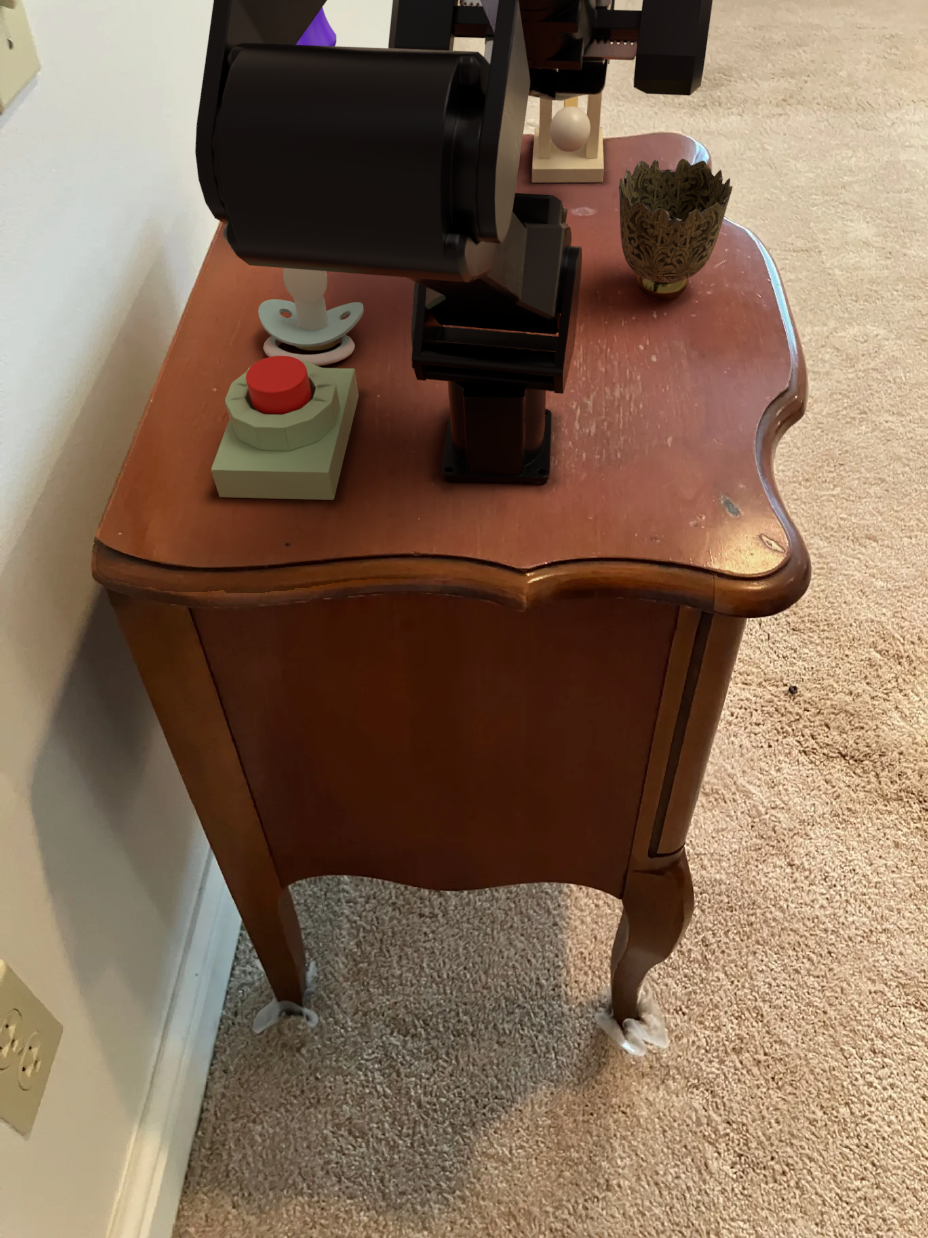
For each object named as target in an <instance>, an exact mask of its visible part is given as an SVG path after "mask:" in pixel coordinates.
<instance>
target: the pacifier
mask: <svg viewBox="0 0 928 1238" xmlns="http://www.w3.org/2000/svg"><path fill="white" fill-rule="evenodd" d="M282 279H283V284H284V286H285V289H286V291H287V292H288V294H289V295H290V296H291V298H293V301H294V302H293V301H290V300H285V299H278V298H277V299H276V298H275V299H274V298H273V299H267V300H265V301H263V302H261V303H260V304H259V307H258V310H257V311H258V312H257V313H258V317H259V321H260V324H261V325H262V328H263V329H264V330H265V331H266V333H268V334H269V337H268V338H267V339H266V340H265V342H264V343H263V351H264V353H265V355H266V356H268V357H272V356H290V357H294V358H297V359H299V360H300V361H307V362H309V363H312V364H314V365H316V366H319V367H321V366H326V365H327V366H328V365H332V364H336V363H338V362H340V361H343V360H345V359H347V358H348V357H350V356H351V355H352V353H353V352H354V350H355V342H354V341H353V339H352V338H351V337H350V336H348V335H347V334H348V333H350V331H351V330H352V329H353V328H354V327H355V326H356V325H357V324H358V323H359V322H360V321H361V318H362V317H363V314H364V305H363V303H362V302H359V301H356V302H355V301H353V302H349V303H344V304H342V305H339V306H338V305H337V306H335V307H333V308H330V309H328V310H327V306H326V302H325V301H326V300H325V293H326V291H327V287H328V274H327V271H316V270H303V269H290V268H282ZM282 313H287V314H289V315H291V316H290V317H285V316H284V315H282ZM344 317H346V318H344ZM343 318H344V319H343ZM282 343H284V344H287V345H290V346H293V347H295V348H297V349H300V350H303V351H324V350H328V349H331V348H333V347H336V345H338V344H340V345H339V346H338V347H336V348H335V349H333V350H330V351H326V352H322V353H315V354H301V353H293V352H290V351H286V350H283V349H282V348H280V347H279V346H280V345H282Z"/></svg>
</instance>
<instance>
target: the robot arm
mask: <svg viewBox="0 0 928 1238" xmlns="http://www.w3.org/2000/svg"><path fill="white" fill-rule="evenodd" d="M327 1H328V0H213V1H212V2H213V3H212V10H211V16H210V25H209V30H208V31H209V33H208V37H207V46H206V51H205V52H206V53H205V61H204V68H203V74H202V81H201V89H200V96H199V103H198V111H197V118H196V126H195V127H196V128H195V146H194V147H195V148H194V153H195V162H196V170H197V179H198V183H199V186H200V190H201V193H202V196H203V199H204V203H205V205H206V206H207V208H208V210H209V211H210V213H211V214H212V216H213V218H214V219H215V220H217V221H219V222H221V223H222V224H224V226H223V230H222V235H223V238H224V240H225V242H226V243H227V245H228V246H229V247H230V249H231V250H232V252H234V254H235V255H236V257H237V258H239V259H241V261H243V262H244V263H245V264H247V265H248V266H251V267H252V266H254V267H266V268H278V269H284V268H290V269H303V270H316V271H326V272H330V273H342V274H343V273H344V274H356V275H370V276H381V277H396V278H405V279H408V280H410V281H413V282H414V284H413V296H412V308H411V309H412V310H411V311H412V312H411V324H410V325H411V327H410V329H411V331H410V333H411V334H410V335H411V336H410V337H411V338H410V339H411V368H412V369H413V372H414V375H415V379H416V381H425V382H426V381H427V380H430V381H440V382H447V391H448V393H447V394H448V406H449V407H448V408H449V411H448V418H447V425H446V432H445V439H444V448H443V454H442V462H441V467H440V468H441V470H440V471H441V478H442V479H443V480H445V481H454V482H455V481H456V482H457V481H458V482H492V483H493V482H494V483H495V482H496V483H498V482H499V483H539V484H541V483H546V482H548V481H549V480H550V477H551V476H550V475H551V447H552V446H551V445H552V411H551V410H550V409H548V408H546V400H547V399H546V398H547V392H553V393H554V394H561V395H563V394H564V393H565V388H566V384H567V380H568V377H569V376H568V375H569V373H570V372H569V371H570V367H571V362H572V358H573V353H574V349H575V341H576V333H577V332H576V330H577V321H578V311H579V298H580V290H581V289H580V287H581V280H582V279H581V278H582V265H583V248H582V246H578V245H572V237H573V236H572V229H571V227H570V225H569V224H568V223H567V218H568V211H569V209H568V208H567V207H564V205H563V201H562V200H561V199H560V198H558V197H557V196H556V195H554V194H543V193H541V194H540V193H526V192H516V188H517V182H518V174H519V167H520V159H521V152H522V145H523V137H524V131H525V123H526V118H527V117H526V116H527V110H528V109H527V108H528V102H529V97H535V98H539V99H540V98H543V99H547V100H552V101H559V102H564V100H566V99H569V98H572V97H577V96H578V97H582V96H588V95H597V94H599V93H601V92H602V93H603V91H604V89H605V88H606V81H607V73H608V67H609V66H608V65H609V64H608V59H610V61H612V60H615V61H618V60H619V61H634V60H635V63H634V70H633V71H634V73H633V88H634V89H636V90H638V91H640V92H642V93H644V94H646V95H664V96H665V95H666V96H667V95H668V96H687V97H688V96H691V95H692V94H694V93H695V92H696V91H697V90H699V88H700V87H701V86H702V82H703V75H704V68H705V61H706V55H707V54H706V53H707V48H708V47H707V46H708V38H709V33H710V32H709V31H710V25H711V15H712V10H713V2H714V0H642V2H641V3H642V5H641V10H637V9H635V10H634V9H615V4H616V0H392V2H391V3H392V4H391V14H390V23H389V34H388V45H387V47H365V46H364V47H363V46H339V45H335V46H315V45H296V44H297V42H298V41H299V39H300V38H301V37H302V35H303V34H304V32H305V31H306V30H307V28H308V27H309V25H310V24H311V22H312V21H313V20H314V18H315V17H316V15H317V14H318V13H319V11H320V10H321V8H322V7H323V8H324V6H325V4H326V3H327ZM455 38H463V39H467V38H468V39H484V53H483V54H481V52H479V51H473V50H472V51H470V50H469V51H468V50H454V44H455Z"/></svg>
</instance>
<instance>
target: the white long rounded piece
mask: <svg viewBox="0 0 928 1238" xmlns="http://www.w3.org/2000/svg"><path fill="white" fill-rule="evenodd" d="M589 135H590V121H589V119H588V116H587V112H585V111H584V110H583V109H581V108H579V96H577V97H572V98H569V99H566V100H563V108H561V109H559V110H557V112H556V113H555V114H554V116H552V121H551V124H550V136H551V140H552V142H553V143H554V145H555V146H556V147H557V148H558V149H560V150H562V151H565V152H573V151H576V150H578V149H580V148H581V147H582V146H583V145H584V144H585V143H586V142H587V140H588V138H589Z"/></svg>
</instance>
